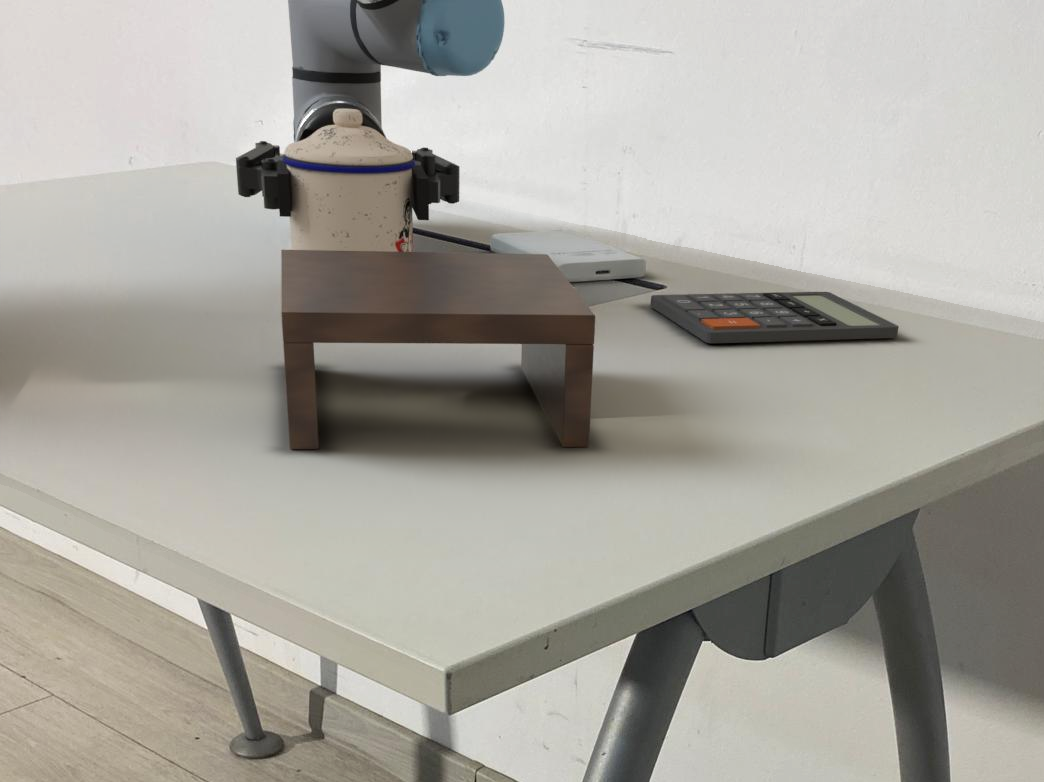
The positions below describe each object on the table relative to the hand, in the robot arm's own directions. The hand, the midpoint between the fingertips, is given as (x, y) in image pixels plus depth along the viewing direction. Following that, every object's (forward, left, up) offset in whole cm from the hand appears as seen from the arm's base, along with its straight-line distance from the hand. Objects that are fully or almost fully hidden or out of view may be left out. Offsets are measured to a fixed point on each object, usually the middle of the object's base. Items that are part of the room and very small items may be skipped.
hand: (354, 197), depth 98 cm
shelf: (+3, -23, -8) cm, 25 cm away
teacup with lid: (0, +4, -7) cm, 8 cm away
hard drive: (+18, +18, -8) cm, 26 cm away
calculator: (+30, -2, -8) cm, 31 cm away
